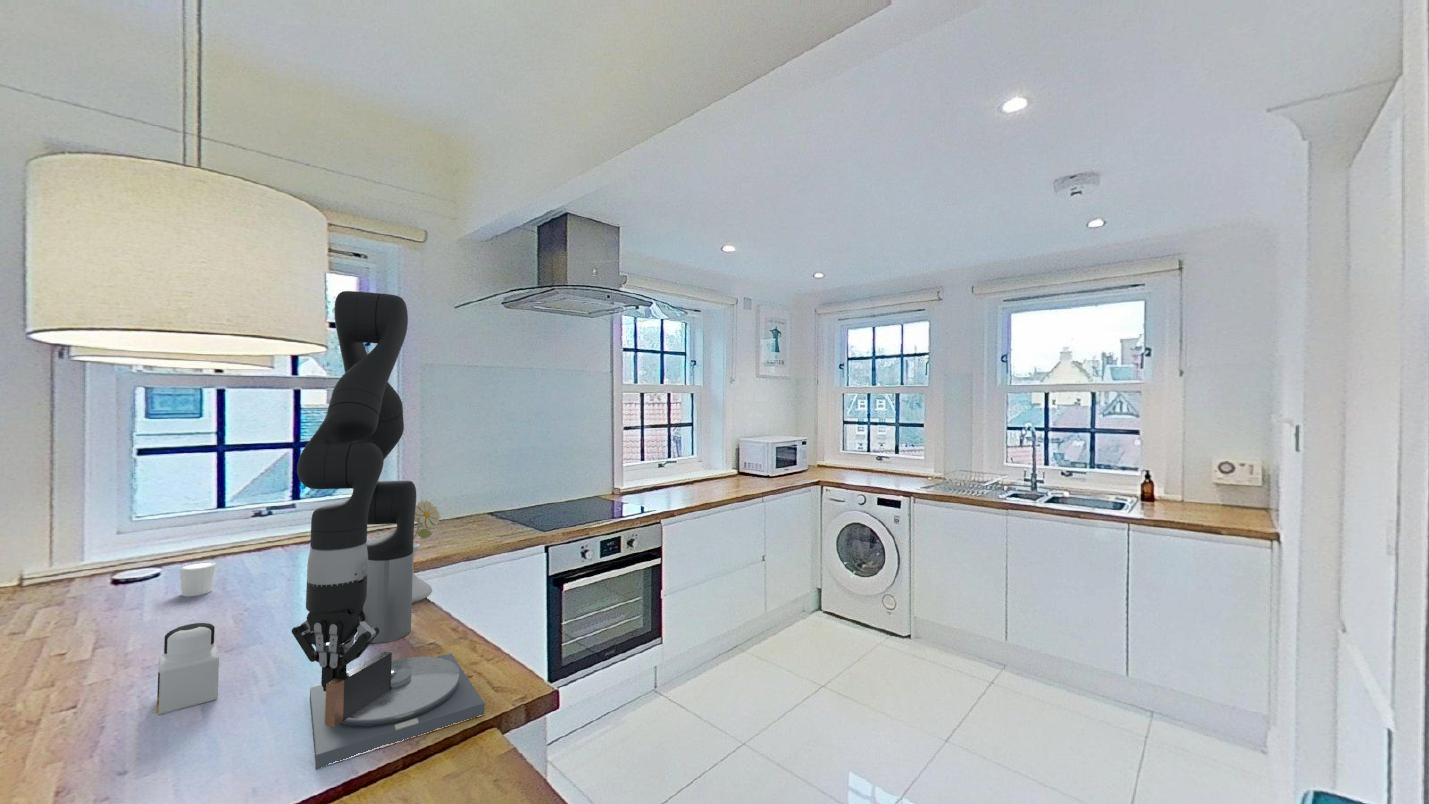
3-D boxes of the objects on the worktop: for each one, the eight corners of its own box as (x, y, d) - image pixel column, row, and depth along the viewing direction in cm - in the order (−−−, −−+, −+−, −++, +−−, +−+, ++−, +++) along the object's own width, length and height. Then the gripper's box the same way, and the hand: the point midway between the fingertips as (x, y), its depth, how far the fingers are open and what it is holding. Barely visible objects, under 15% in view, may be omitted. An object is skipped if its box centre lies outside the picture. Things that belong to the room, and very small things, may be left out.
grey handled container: (158, 698, 91) (160, 626, 91) (215, 683, 96) (218, 615, 96) (156, 716, 86) (159, 640, 86) (217, 699, 91) (220, 628, 91)
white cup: (207, 595, 138) (208, 568, 138) (172, 598, 135) (173, 570, 136) (220, 587, 144) (221, 560, 144) (187, 589, 142) (187, 563, 142)
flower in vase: (392, 611, 130) (395, 507, 130) (373, 600, 137) (376, 502, 137) (447, 597, 140) (449, 501, 141) (426, 587, 147) (428, 496, 148)
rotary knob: (390, 659, 101) (391, 619, 101) (482, 671, 97) (483, 629, 97) (274, 728, 79) (275, 676, 79) (387, 745, 76) (388, 691, 76)
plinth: (309, 699, 91) (310, 686, 91) (451, 663, 105) (451, 652, 105) (315, 769, 74) (316, 753, 74) (484, 715, 88) (484, 701, 88)
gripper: (275, 579, 78) (270, 698, 78) (359, 585, 77) (354, 707, 77) (318, 563, 86) (314, 673, 86) (396, 569, 84) (391, 680, 84)
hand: (333, 689), depth 81 cm, fingers closed
